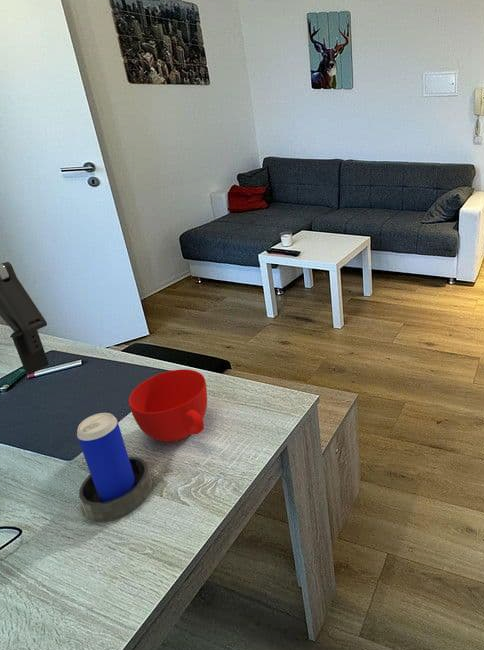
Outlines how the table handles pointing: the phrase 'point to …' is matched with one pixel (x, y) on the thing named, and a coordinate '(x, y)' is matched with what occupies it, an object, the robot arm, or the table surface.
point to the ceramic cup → (170, 405)
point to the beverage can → (106, 456)
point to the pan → (120, 504)
